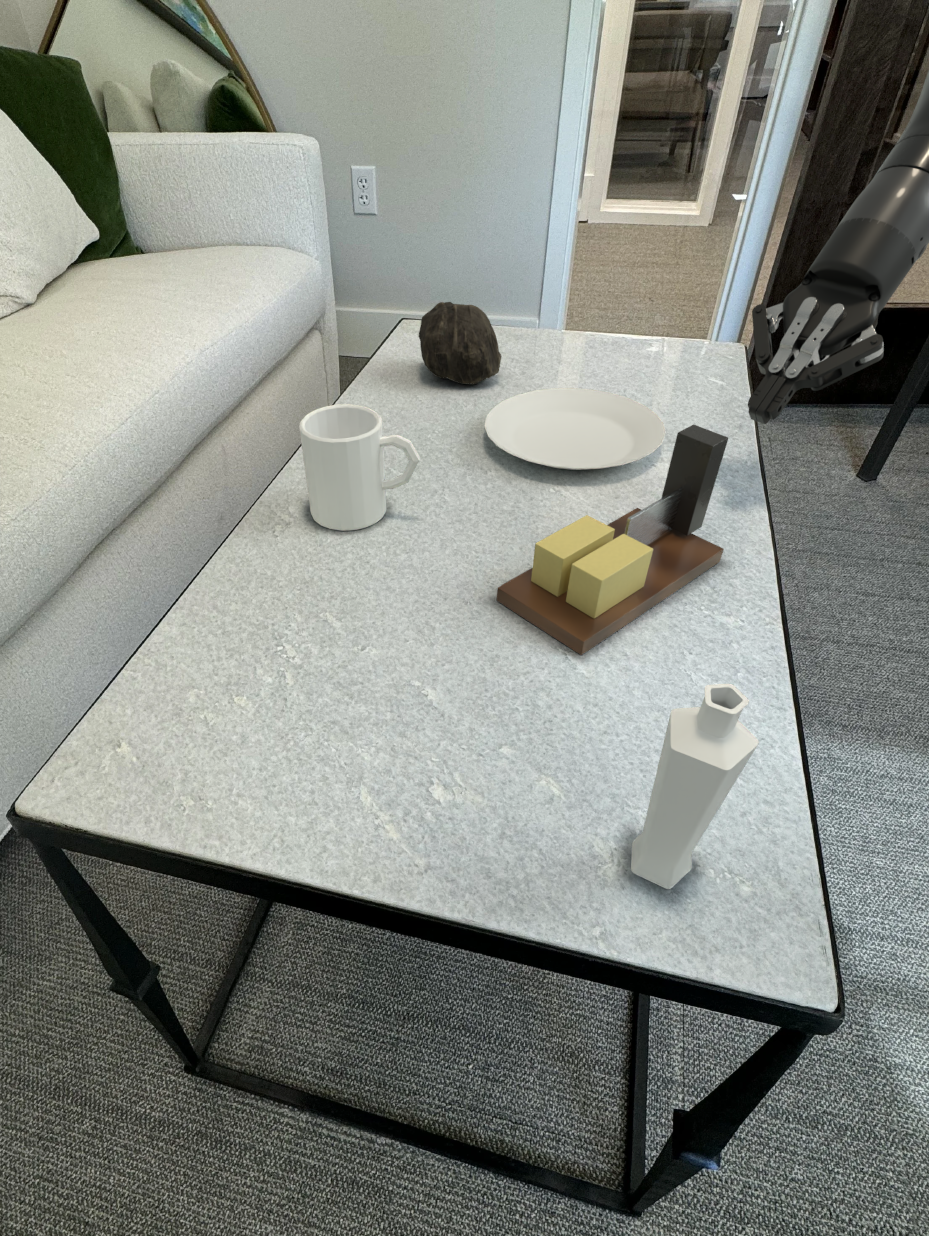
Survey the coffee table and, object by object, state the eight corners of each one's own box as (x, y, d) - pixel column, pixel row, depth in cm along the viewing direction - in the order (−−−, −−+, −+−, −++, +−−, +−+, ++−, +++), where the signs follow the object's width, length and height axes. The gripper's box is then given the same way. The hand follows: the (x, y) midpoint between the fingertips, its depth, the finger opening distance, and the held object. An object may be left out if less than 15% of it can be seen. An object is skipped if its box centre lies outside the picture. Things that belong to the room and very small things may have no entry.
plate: (652, 407, 93) (656, 390, 91) (669, 491, 78) (674, 472, 77) (489, 402, 96) (491, 384, 94) (477, 482, 81) (478, 463, 80)
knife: (670, 513, 72) (693, 424, 66) (701, 527, 70) (728, 437, 64) (604, 552, 68) (622, 461, 61) (635, 569, 66) (657, 476, 59)
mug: (410, 541, 73) (407, 449, 66) (299, 525, 76) (286, 435, 69) (430, 500, 79) (430, 411, 72) (327, 487, 81) (317, 400, 74)
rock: (498, 388, 96) (493, 304, 90) (416, 395, 99) (405, 314, 93) (507, 367, 104) (502, 288, 98) (430, 374, 107) (421, 298, 101)
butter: (580, 551, 69) (586, 514, 66) (644, 586, 64) (653, 548, 62) (530, 580, 66) (535, 543, 63) (594, 619, 62) (601, 580, 59)
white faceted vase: (705, 849, 47) (785, 685, 37) (684, 902, 45) (763, 741, 34) (637, 819, 49) (693, 654, 38) (613, 868, 46) (666, 705, 36)
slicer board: (634, 520, 75) (637, 507, 74) (719, 562, 69) (724, 548, 68) (496, 600, 66) (497, 587, 65) (581, 655, 61) (583, 642, 60)
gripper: (801, 202, 66) (687, 377, 70) (955, 228, 59) (819, 422, 62) (810, 257, 72) (705, 414, 76) (951, 286, 65) (827, 459, 68)
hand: (756, 417), depth 69 cm, fingers closed
